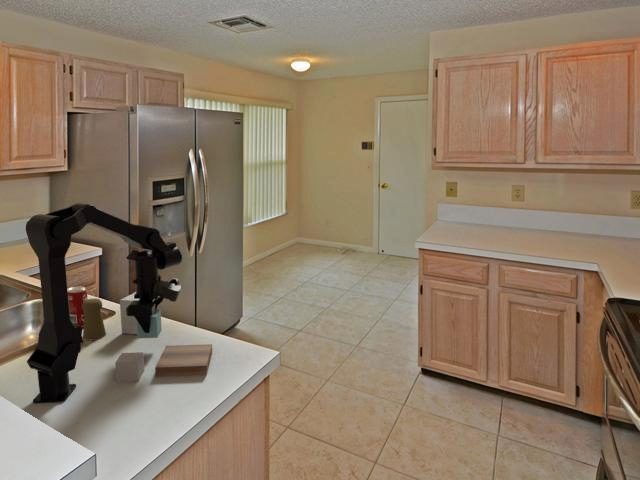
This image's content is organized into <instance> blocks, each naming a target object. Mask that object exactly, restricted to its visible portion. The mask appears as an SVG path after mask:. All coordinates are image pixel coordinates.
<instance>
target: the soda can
mask: <svg viewBox="0 0 640 480" xmlns="http://www.w3.org/2000/svg"><path fill="white" fill-rule="evenodd" d="M88 299H89V298H88V290H87V289H86V287H85V286H83V285H82V286H80V285H79V286H72V287H70V288H68V300H69V312H70V320H71V322H72V323H73V324H76V325H80V326H81V327H84V315H85V312H84V311H83V309H82V304H83V302H84V301H85V300H88Z"/></svg>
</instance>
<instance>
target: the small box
mask: <svg viewBox="0 0 640 480" xmlns="http://www.w3.org/2000/svg"><path fill="white" fill-rule="evenodd" d="M135 293H136V291H135V292H132V294H129V295H127V296H125V297H123V298H121V299H119V310H120V311H119V312H120V326H121V333H122V334H128V335H137V336H138V331H137V320H136V318H135V317H134V316H127V315H126V308H127V307H128V306H129V304H130V303H131V302H132V301H133V300H139V299H134V295H135Z"/></svg>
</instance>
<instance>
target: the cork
mask: <svg viewBox="0 0 640 480" xmlns="http://www.w3.org/2000/svg"><path fill="white" fill-rule="evenodd" d="M82 309H83V311H84V312H85V315H84V328H83V329H82V340H87V341H92V340H93V341H96V340H99V339H102V338H104V337H106V336H107V332H106V331H107V330H106V328H105V324H104V319H103V315H102V309H103V302H102V300H101V299H99V298H88V300H85V301H84V302H83V304H82Z"/></svg>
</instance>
